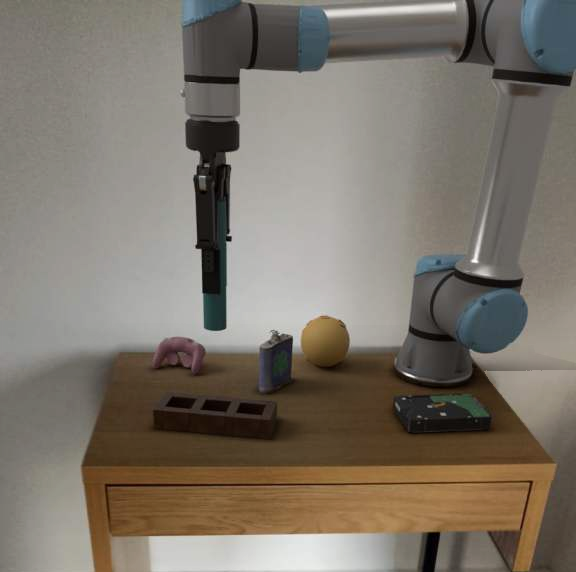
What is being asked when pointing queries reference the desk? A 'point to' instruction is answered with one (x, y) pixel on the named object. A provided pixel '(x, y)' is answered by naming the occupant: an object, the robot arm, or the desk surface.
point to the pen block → (215, 415)
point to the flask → (275, 362)
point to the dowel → (214, 302)
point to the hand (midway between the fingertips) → (214, 289)
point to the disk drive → (441, 413)
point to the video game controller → (180, 344)
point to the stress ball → (325, 341)
